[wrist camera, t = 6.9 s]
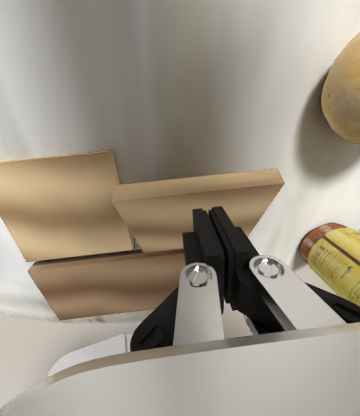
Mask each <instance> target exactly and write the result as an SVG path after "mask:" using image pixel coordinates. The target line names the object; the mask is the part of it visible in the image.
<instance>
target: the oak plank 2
mask: <svg viewBox="0 0 360 416" xmlns="http://www.w3.org/2000/svg"><path fill="white" fill-rule="evenodd" d="M283 185H284V181H283V179H282V177H281V175H280V173H279V171H278V169H277V168H274V169H264V170H255V171H245V172H236V173H226V174H217V175H207V176H198V177H188V178H179V179H169V180H160V181H150V182H141V183H131V184H122V185H114V186H113V195H112V203H113V204H114V206H115V208H116V209H117V211H118V212H119V214H120V216H121V217H122V219H123V220H124V222H125V224H126V225H127V227H128V228H129V230H130V232H131V233H132V235H133V236H134V238H135V240H136V241H137V243H138V244H139V246H140V248H141V249H142V251H143V252H144V253H149V252H158V251H167V250H175V249H184V248H183V237H182V233H184V232H193V231H194V230H193V214H192V209H199V208H202V209H203V210H206V211H207V214H208V210H211V209H212V207H218V206H222V207H223V209H224V210H225V212H226V213H227V215H228V217H229V218H230V220H231V221H232V223H233V225H234V226H235V227H238V226H239V227H241V228H242V230H243V231H244V233H245V234H246V236H247V237H248V235H249V234H250V233H251V231H252V230H253V228H254V227H255V225H256V224H257V222H258V221H259V219H260V218H261V217H262V215H263V214H264V212H265V211H266V209H267V208H268V206H269V205H270V204H271V202H272V201H273V199H274V198H275V196H276V195H277V193H278V192H279V191H280V189H281V188H282V186H283Z"/></svg>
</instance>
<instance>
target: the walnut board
mask: <svg viewBox="0 0 360 416" xmlns="http://www.w3.org/2000/svg"><path fill="white" fill-rule="evenodd" d="M184 267H186V264H185V256H184V249H175V250H167V251H158V252H149V253H144V252H143V251H142V250H135V251H126V252H118V253H109V254H100V255H92V256H83V257H74V258H65V259H57V260H48V261H39V262H35V263H34V264H33V265H32V267H31V268H30V269H29V270H28V271H27V272H28V273H29V275H30V276H31V278H32V279H33V281H34V282H35V284H36V285H37V287H38V288H39V290H40V291H41V293H42V294H43V296H44V297H45V299H46V300H47V302H48V303H49V305H50V307H51V308H52V310H53V311H54V313H55V314H56V316H57V317H58V319H59V320H67V319H75V318H83V317H91V316H99V315H107V314H115V313H123V312H132V311H140V310H148V309H156V308H157V307H158V306H159V305H160V304H161V303H162V302H163V301H164V300H165V299H166V298H167V297H168V296H169V295H170V294H171V293H172V292H173V291H174V290H175V289H176V288H177V287H178V286H179V281H180V274H181V271H182V270H183V268H184ZM224 300H225V299H224Z"/></svg>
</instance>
